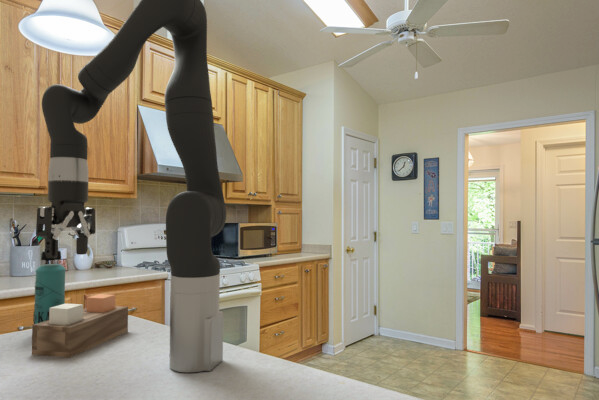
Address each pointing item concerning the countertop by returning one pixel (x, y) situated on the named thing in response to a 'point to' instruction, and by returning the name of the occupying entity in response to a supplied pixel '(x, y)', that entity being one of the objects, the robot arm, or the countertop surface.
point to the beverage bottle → (48, 288)
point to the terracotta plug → (100, 303)
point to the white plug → (65, 314)
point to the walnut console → (78, 333)
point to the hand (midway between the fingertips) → (67, 256)
